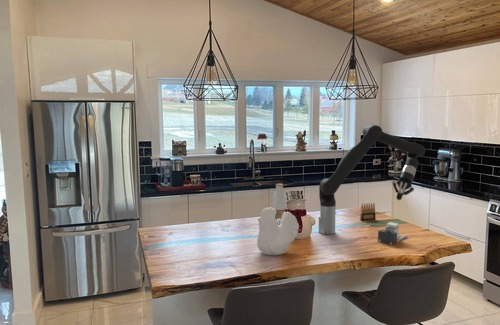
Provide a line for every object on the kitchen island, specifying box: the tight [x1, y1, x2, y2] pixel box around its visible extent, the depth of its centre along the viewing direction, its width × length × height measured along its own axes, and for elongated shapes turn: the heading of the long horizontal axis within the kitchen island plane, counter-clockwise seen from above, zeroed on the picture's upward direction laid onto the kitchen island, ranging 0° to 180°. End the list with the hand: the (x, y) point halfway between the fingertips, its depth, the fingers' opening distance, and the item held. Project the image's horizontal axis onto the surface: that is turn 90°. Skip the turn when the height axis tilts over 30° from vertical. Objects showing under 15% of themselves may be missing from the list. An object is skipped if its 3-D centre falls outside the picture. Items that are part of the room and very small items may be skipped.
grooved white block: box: [385, 221, 400, 238], centre depth 223 cm, size 5×5×9 cm
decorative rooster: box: [256, 207, 300, 256], centre depth 208 cm, size 25×16×25 cm, turn 108°
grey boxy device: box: [377, 225, 408, 246], centre depth 224 cm, size 18×9×10 cm, turn 134°
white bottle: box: [271, 183, 288, 225], centre depth 257 cm, size 9×9×28 cm
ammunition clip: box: [359, 202, 376, 222], centre depth 272 cm, size 11×2×12 cm, turn 104°
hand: (398, 199), depth 234 cm, fingers closed
